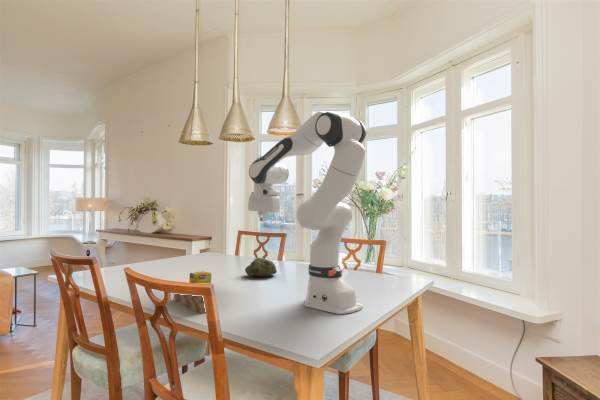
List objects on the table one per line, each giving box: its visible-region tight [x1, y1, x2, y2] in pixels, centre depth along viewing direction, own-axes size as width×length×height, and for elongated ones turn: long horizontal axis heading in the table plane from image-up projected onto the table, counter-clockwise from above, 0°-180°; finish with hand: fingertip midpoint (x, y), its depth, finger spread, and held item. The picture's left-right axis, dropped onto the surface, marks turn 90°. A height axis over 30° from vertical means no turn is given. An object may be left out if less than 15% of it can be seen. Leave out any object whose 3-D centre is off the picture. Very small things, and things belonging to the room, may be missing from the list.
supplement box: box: [188, 270, 212, 285], centre depth 130 cm, size 6×6×11 cm
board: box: [173, 293, 206, 315], centre depth 125 cm, size 22×3×6 cm, turn 42°
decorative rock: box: [244, 257, 277, 278], centre depth 177 cm, size 15×16×10 cm
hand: (262, 221), depth 160 cm, fingers closed
